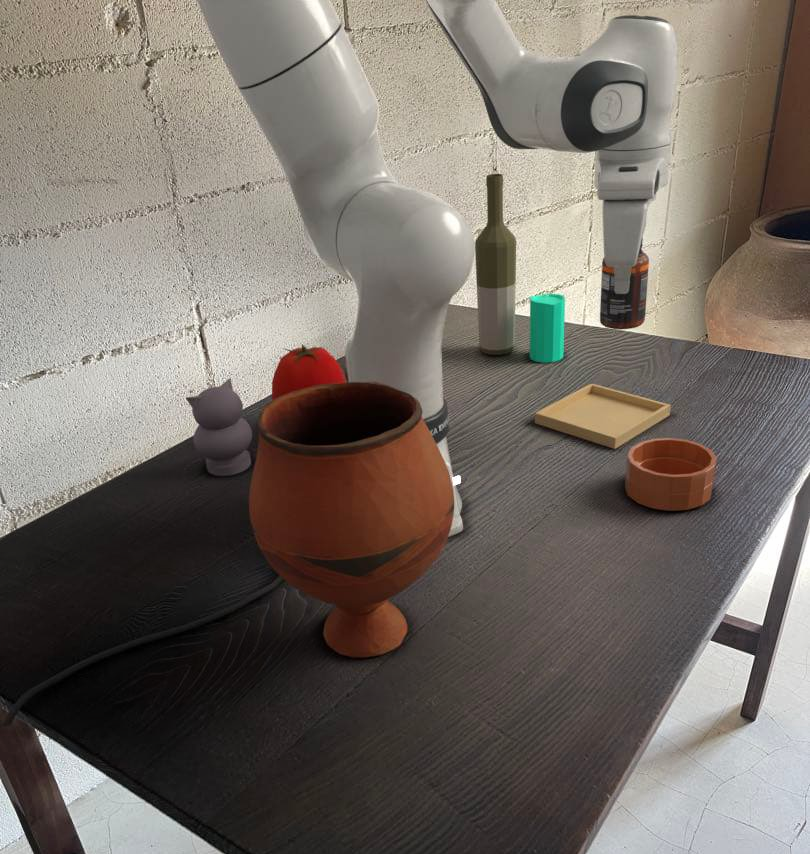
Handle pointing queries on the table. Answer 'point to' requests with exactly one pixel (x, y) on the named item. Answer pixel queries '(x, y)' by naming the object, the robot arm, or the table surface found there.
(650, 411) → the tray
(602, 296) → the supplement bottle
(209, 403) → the cat figurine
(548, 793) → the table surface
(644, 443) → the bowl
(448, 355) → the table surface
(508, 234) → the bottle
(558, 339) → the candle
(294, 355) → the tomato
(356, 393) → the goblet
